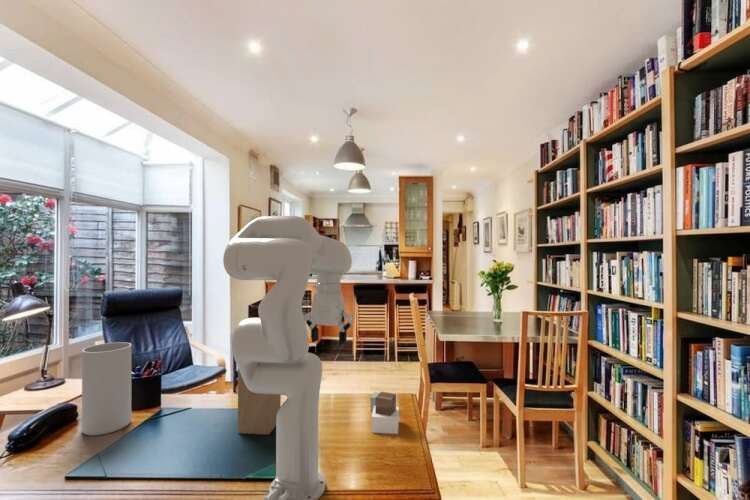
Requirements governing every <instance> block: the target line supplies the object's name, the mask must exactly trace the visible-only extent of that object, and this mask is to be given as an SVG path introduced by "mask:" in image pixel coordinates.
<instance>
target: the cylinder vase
mask: <svg viewBox="0 0 750 500" xmlns="http://www.w3.org/2000/svg"><path fill="white" fill-rule="evenodd" d="M132 349H133V348H132V343H131V342H126V341H125V342H124V341H123V342H121V341H119V342H107V343H100V344H99V343H98V344H95V345H91V346H87V347H85V348H83V349H82V351H81V353H82V354H81V374H82V375H81V432H82V433H83V434H84V435H87V436H92V437H93V436H104V435H106V434H112V433H114V432H117V431H120V430H122V429H123V428H126V427H127V426H128V425H129V424H130V423H131V421H132V358H133V357H132Z"/></svg>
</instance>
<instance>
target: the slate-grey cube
mask: <svg viewBox="0 0 750 500" xmlns="http://www.w3.org/2000/svg"><path fill="white" fill-rule="evenodd" d="M379 393H380V392H378V391H377V392H376V391H375V392H374V393H373V394H372V395H371V396H370V412H371V413H373V409H374V406H376V396H377V395H378V394H379Z"/></svg>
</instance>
